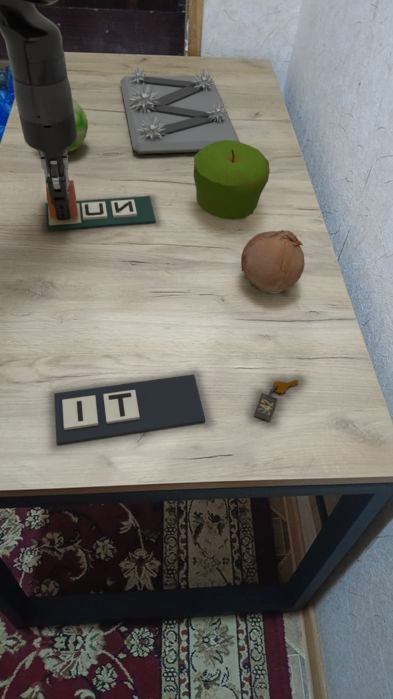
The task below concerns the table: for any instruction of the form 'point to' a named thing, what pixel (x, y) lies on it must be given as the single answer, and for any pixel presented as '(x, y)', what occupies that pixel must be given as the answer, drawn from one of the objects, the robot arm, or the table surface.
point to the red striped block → (71, 201)
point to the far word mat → (106, 214)
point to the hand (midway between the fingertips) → (63, 209)
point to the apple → (229, 179)
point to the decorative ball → (79, 125)
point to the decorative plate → (174, 113)
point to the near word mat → (127, 409)
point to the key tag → (271, 400)
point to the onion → (273, 261)
